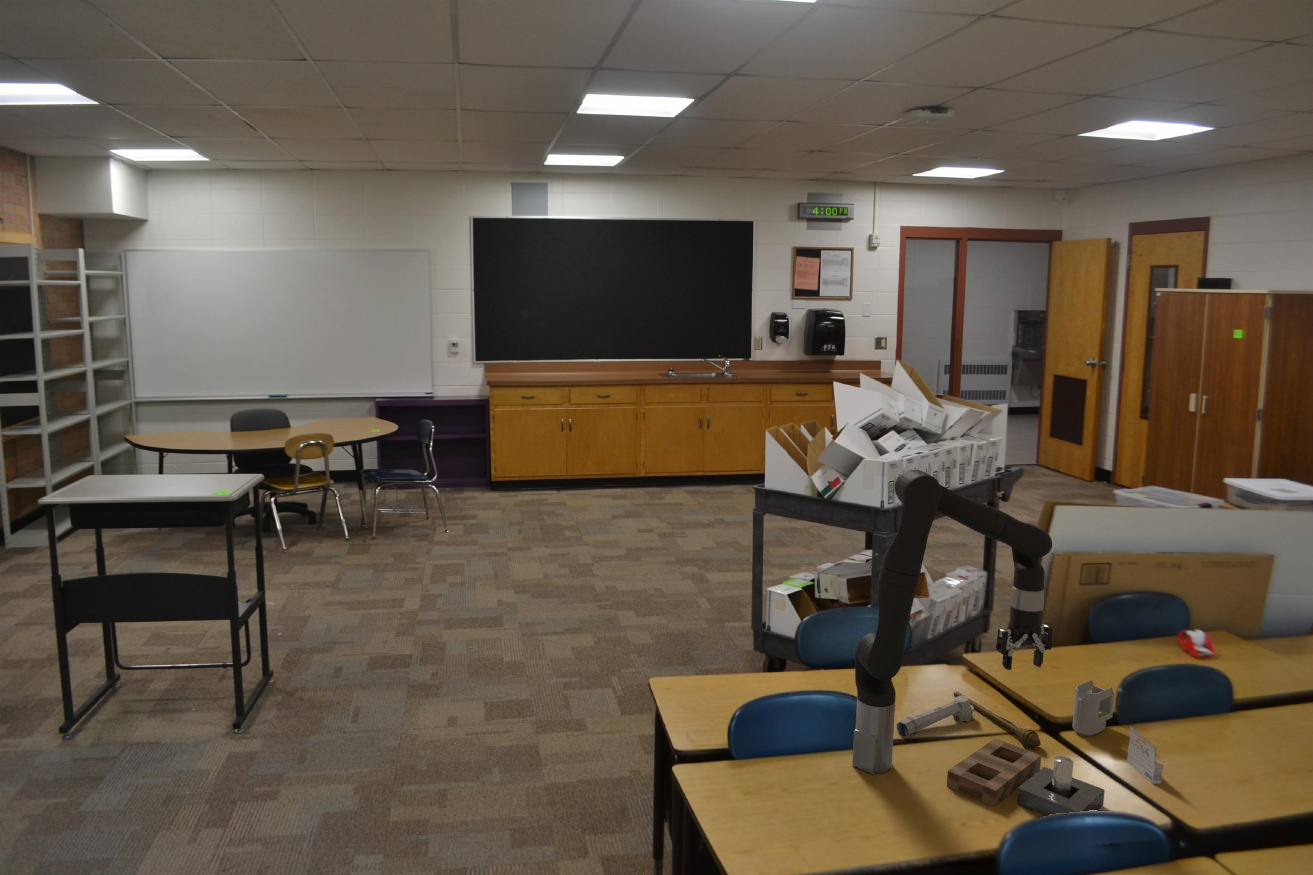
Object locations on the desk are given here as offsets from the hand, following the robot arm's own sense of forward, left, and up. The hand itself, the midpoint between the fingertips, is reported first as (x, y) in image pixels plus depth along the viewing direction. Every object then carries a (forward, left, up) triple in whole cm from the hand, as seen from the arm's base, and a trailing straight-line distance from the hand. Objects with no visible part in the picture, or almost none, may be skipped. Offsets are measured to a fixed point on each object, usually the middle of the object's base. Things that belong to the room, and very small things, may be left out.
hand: (1022, 667), depth 229 cm
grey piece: (+3, +24, -26) cm, 35 cm away
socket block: (-12, -16, -25) cm, 32 cm away
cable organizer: (+32, -6, -25) cm, 41 cm away
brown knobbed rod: (+17, +14, -26) cm, 34 cm away
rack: (-12, 0, -25) cm, 28 cm away
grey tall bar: (-12, -16, -25) cm, 32 cm away
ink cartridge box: (+18, -24, -25) cm, 39 cm away
